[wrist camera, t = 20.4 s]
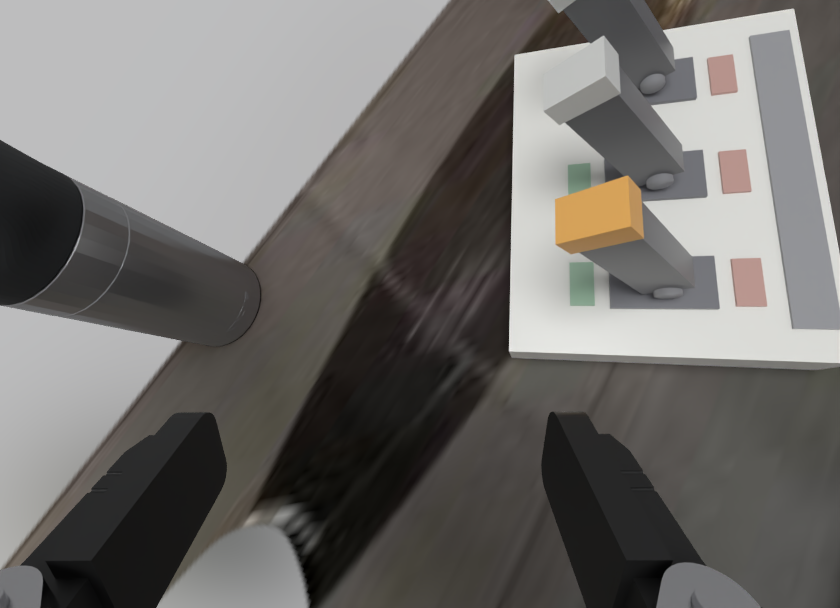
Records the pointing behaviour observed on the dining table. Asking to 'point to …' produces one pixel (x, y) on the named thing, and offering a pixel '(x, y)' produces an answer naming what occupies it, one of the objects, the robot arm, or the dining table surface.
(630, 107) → the breaker mid
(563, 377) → the dining table surface
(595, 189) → the lever
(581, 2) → the lever
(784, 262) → the panel
